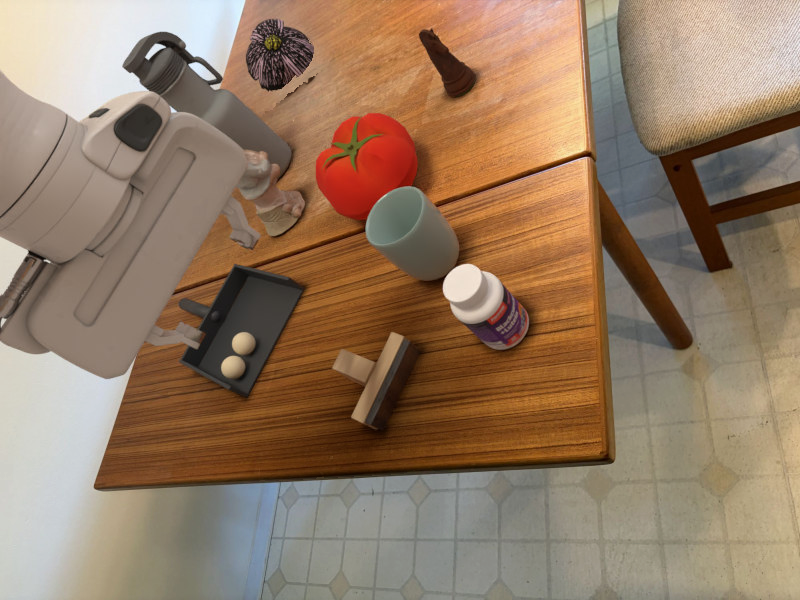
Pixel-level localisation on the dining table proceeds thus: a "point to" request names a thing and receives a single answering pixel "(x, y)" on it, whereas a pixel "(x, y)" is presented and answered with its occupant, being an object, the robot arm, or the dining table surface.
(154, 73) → the water bottle
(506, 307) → the pill bottle
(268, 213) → the figurine
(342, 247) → the dining table surface
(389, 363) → the brush
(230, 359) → the crumb
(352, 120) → the tomato
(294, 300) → the dustpan
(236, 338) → the crumb
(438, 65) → the chess piece
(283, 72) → the decorative flower
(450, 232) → the cup
